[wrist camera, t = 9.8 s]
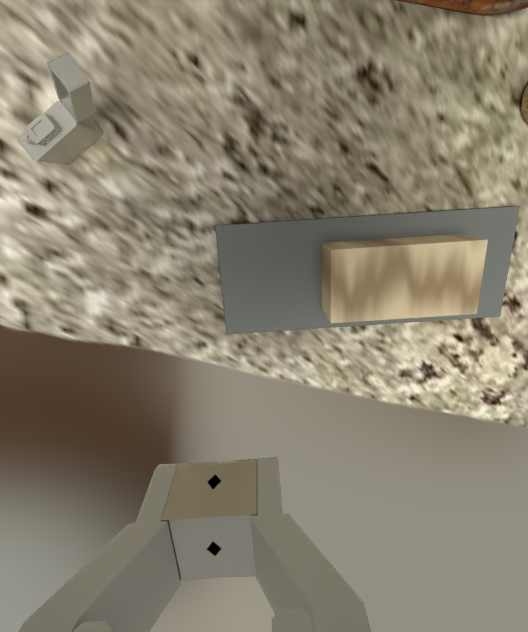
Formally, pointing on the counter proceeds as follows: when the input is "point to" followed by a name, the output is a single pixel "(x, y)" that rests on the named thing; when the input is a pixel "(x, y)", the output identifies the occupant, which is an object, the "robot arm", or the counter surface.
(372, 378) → the counter surface
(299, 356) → the counter surface
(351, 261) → the beech block
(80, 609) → the robot arm
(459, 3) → the tin
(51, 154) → the lighter
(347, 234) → the slate mat
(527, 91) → the sprinkles bottle
